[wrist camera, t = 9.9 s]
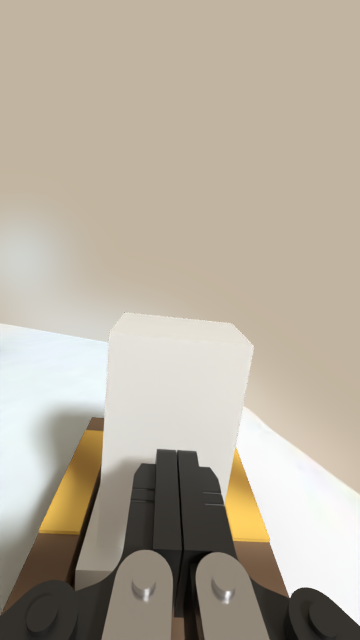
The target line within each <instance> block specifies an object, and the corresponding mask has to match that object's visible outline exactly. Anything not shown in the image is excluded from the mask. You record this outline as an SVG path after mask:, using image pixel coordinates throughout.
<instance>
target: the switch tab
mask: <svg viewBox="0 0 360 640" xmlns="http://www.w3.org/2000/svg"><path fill="white" fill-rule="evenodd" d="M253 350H254V346H253V344H252V343H250V341H249V340H248V339H247V338H246V337H245V336H244V335H243V334H242V333H241V332H240V331H239V330H238V329H237V328H236V327H235V326H234V325H233V324H232V323H223V322H214V321H204V320H194V319H185V318H175V317H166V316H155V315H146V314H136V313H126V312H124V314H123V315H122V316H121V318H120V319H119V320H118V322H117V323H116V324H115V326H114V327H113V328H112V330H111V331H110V334H109V350H108V367H107V383H106V400H105V417H104V433H103V450H102V466H101V483H100V487H99V490H98V494H97V497H96V501H95V504H94V508H93V511H92V515H91V518H90V522H89V525H88V528H87V532H86V535H85V539H84V542H83V546H82V549H81V553H80V556H79V560H78V563H77V566H76V570H75V591H77V590H80V589H83V588H86V587H88V586H91V585H94V584H96V583H98V582H100V581H102V580H103V579H105V578H106V577H107V576H108V575H109V574H110V573H111V572H112V571H113V570H114V569H115V567H116V566H117V565H118V563H119V561H120V559H121V556H122V553H123V548H124V541H125V534H126V527H127V520H128V513H129V506H130V499H131V492H132V485H133V478H134V474H135V472H136V471H137V469H138V468H139V466H140V465H141V463H147V464H155V460H156V452H157V449H170V450H176V452H177V450H187V451H196V452H197V456H198V462H199V467H210V468H211V469H212V471H213V472H214V473H215V475H216V476H217V478H218V480H219V484H220V488H221V495H222V497H223V501H224V505H225V500H226V495H227V489H228V484H229V479H230V473H231V468H232V462H233V457H234V452H235V446H236V441H237V436H238V430H239V425H240V420H241V414H242V409H243V403H244V398H245V393H246V388H247V382H248V377H249V372H250V366H251V361H252V356H253Z"/></svg>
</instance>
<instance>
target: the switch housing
mask: <svg viewBox="0 0 360 640" xmlns="http://www.w3.org/2000/svg"><path fill="white" fill-rule="evenodd" d="M103 433H104V418H93V417H92V419H91V421H90V423H89V425H88V427H87V429H86V430H85V432H84V434H83V436H82V438H81V440H80V442H79V445H78V447H77V449H76V451H75V453H74V455H73V457H72V460H71V462H70V464H69V466H68V468H67V470H66V472H65V475H64V477H63V479H62V481H61V483H60V485H59V487H58V490H57V492H56V494H55V496H54V498H53V500H52V502H51V505H50V507H49V509H48V511H47V513H46V515H45V517H44V520H43V522H42V524H41V526H40V528H39V533H38V536H37V538H36V540H35V542H34V544H33V546H32V549H31V551H30V553H29V555H28V557H27V559H26V562H25V564H24V566H23V568H22V570H21V572H20V575H19V577H18V579H17V581H16V583H15V585H14V588H13V590H12V592H11V594H10V596H9V599H8V601H7V603H6V605H5V607H4V609H3V612H2V614H3V613H4V612H5V611H7V610H8V609H9V608H10V607H11V606H12V605H13V604H14V603H15V602H16V601H18V600H19V599H20V598H21V597H22V596H23V595H24V594H25V593H26V592H28V591H29V590H30V589H31V588H33V587H35V586H36V585H38V584H40V583H42V582H45V581H49V580H61V581H64V582H66V583H68V584H69V585H70V586H71V587H72V588H73V589H74V591H75V570H76V566H77V563H78V560H79V556H80V553H81V549H82V546H83V542H84V539H85V535H86V532H87V528H88V525H89V522H90V518H91V515H92V511H93V508H94V504H95V501H96V497H97V494H98V490H99V487H100V483H101V466H102V450H103ZM224 507H225V509H226V513H227V518H228V522H229V526H230V530H231V534H232V539H233V543H234V547H235V551H236V555H237V558H238V560H239V562H240V564H241V565H242V566H243V567H244V569H245V570H246V572H247V574H248V575H249V576H250V577H251V578H252V579H253V580H254V581H255V582H256V583H258V584H259V585H261V586H263V587H265V588H267V589H269V590H272V591H274V592H276V593H279V594H281V595H283V596H286V597H288V598H289V596H288V593H287V590H286V587H285V585H284V582H283V579H282V576H281V573H280V571H279V568H278V565H277V562H276V560H275V557H274V554H273V551H272V549H271V546H270V543H269V541H270V538H269V535H268V533H267V530H266V527H265V525H264V522H263V519H262V516H261V514H260V511H259V508H258V506H257V503H256V500H255V497H254V495H253V492H252V489H251V487H250V484H249V481H248V478H247V476H246V473H245V470H244V468H243V465H242V462H241V459H240V457H239V454H238V451H237V449H236V446H235V452H234V457H233V462H232V468H231V473H230V479H229V484H228V489H227V495H226V500H225V505H224ZM2 614H1V615H2ZM171 640H185V636H184V618H174V605H173V612H172V619H171Z"/></svg>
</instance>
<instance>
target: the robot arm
mask: <svg viewBox="0 0 360 640" xmlns="http://www.w3.org/2000/svg"><path fill="white" fill-rule="evenodd" d="M173 605H174V618H184V636H185V640H360V626H359V625H358V624H357V623H356V622H355V621H354V620H353V619H351V618H350V617H349V616H348V615H347V614H346V613H345V612H344V611H343V610H342V609H341V608H340V607H339V606H338V605H337V604H335V603H334V602H333V601H332V600H331V599H330V598H329V597H327V596H326V595H324V594H323V593H321V592H319V591H317V590H315V589H312V588H300V589H297V590H296V591H294V593H293V594H292V595H291V598H288V597H286V596H283V595H281V594H279V593H276V592H274V591H272V590H269V589H267V588H265V587H263V586H261V585H259V584H258V583H256V582H255V581H254V580H253V579H252V578H251V577H250V576H249V575H248V574H247V572H246V570H245V569H244V567H243V566H242V565H241V564H240V562H239V560H238V558H237V555H236V551H235V547H234V543H233V539H232V534H231V530H230V526H229V522H228V518H227V513H226V509H225V507H224V501H223V497H222V495H221V488H220V484H219V480H218V478H217V476H216V475H215V473H214V472H213V471H212V469H211V468H210V467H199V462H198V456H197V452H196V451H187V450H177V452H176V450H170V449H157V452H156V460H155V464H147V463H141V465H140V466H139V468H138V469H137V471H136V472H135V474H134V478H133V485H132V492H131V499H130V506H129V513H128V520H127V527H126V534H125V541H124V548H123V553H122V556H121V559H120V561H119V563H118V565H117V566H116V567H115V569H114V570H113V571H112V572H111V573H110V574H109V575H108V576H107V577H106V578H105V579H103V580H102V581H100V582H98V583H96V584H94V585H91V586H88V587H86V588H83V589H80V590H77V591H74V589H73V588H72V587H71V586H70V585H69V584H68V583H66V582H64V581H61V580H49V581H45V582H42V583H40V584H38V585H36V586H35V587H33V588H31V589H30V590H29V591H28V592H26V593H25V594H24V595H23V596H22V597H21V598H20V599H19V600H18V601H16V602H15V603H14V604H13V605H12V606H11V607H10V608H9V609H8V610H7V611H5V612H4V613H3V614H2V615H1V616H0V640H171V619H172V612H173Z"/></svg>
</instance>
